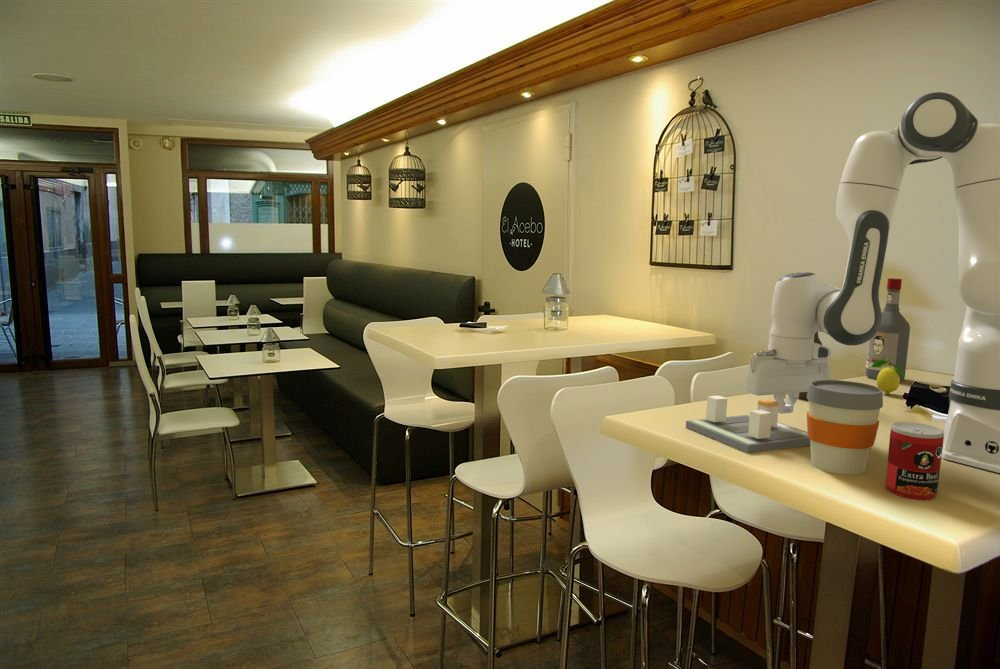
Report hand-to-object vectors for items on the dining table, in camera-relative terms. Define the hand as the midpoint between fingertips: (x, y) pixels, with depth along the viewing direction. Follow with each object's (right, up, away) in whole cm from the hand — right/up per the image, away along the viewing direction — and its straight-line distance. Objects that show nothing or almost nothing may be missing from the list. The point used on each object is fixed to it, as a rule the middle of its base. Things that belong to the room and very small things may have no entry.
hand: (784, 412), depth 156 cm
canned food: (+7, -10, -35) cm, 37 cm away
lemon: (+43, 0, +41) cm, 60 cm away
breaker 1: (-14, -2, +1) cm, 15 cm away
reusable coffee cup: (+1, -8, -22) cm, 24 cm away
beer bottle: (+19, 0, +35) cm, 40 cm away
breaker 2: (-9, -4, -11) cm, 15 cm away
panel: (-8, -4, -3) cm, 10 cm away
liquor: (+55, +3, +63) cm, 83 cm away
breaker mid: (-5, -2, -2) cm, 5 cm away
